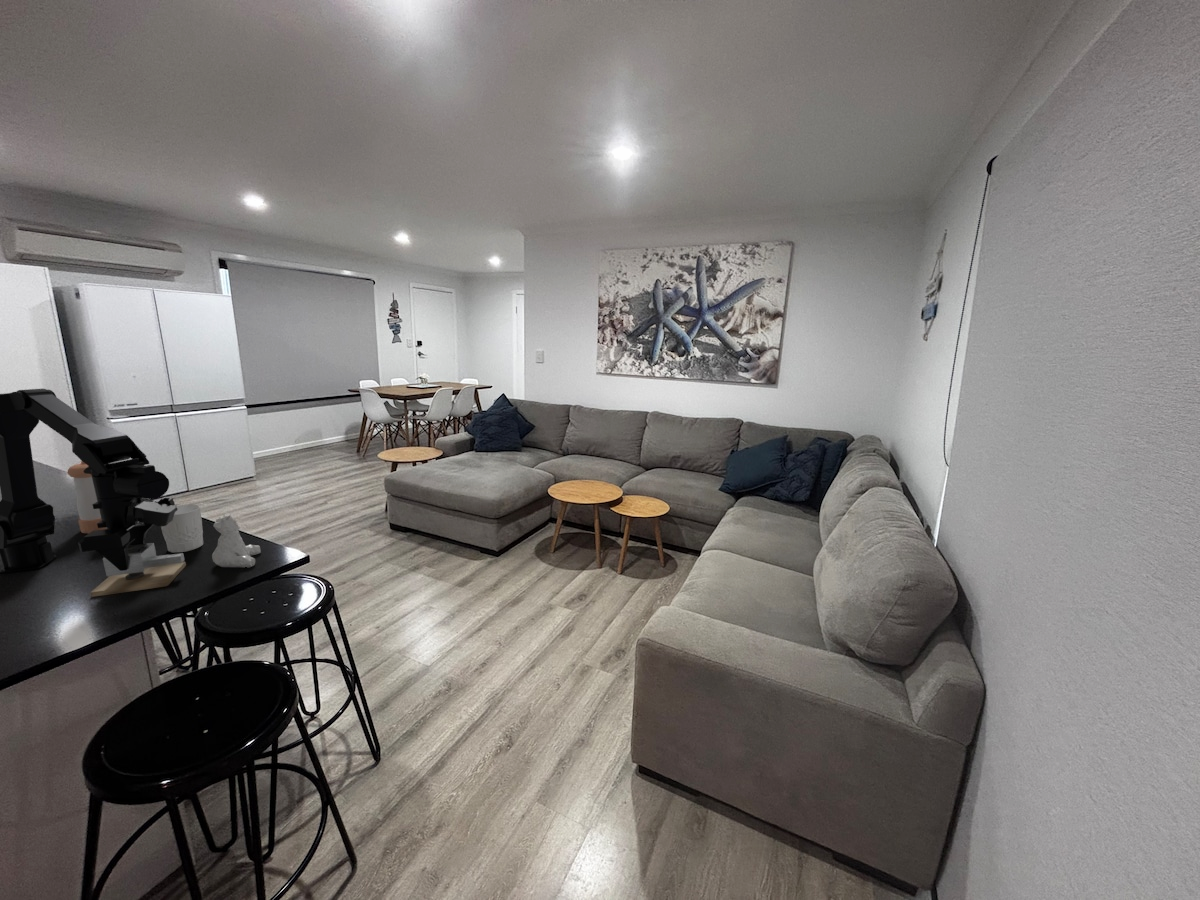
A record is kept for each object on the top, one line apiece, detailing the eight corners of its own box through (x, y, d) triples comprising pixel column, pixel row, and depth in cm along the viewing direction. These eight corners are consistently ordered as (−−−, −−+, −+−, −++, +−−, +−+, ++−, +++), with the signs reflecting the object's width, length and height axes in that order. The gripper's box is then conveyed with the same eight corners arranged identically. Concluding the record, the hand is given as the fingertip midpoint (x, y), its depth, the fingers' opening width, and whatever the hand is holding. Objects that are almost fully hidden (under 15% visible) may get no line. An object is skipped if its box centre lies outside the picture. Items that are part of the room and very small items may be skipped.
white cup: (182, 555, 112) (174, 516, 110) (156, 552, 114) (148, 513, 111) (214, 542, 120) (208, 505, 117) (189, 539, 121) (183, 503, 119)
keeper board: (91, 596, 94) (84, 569, 92) (117, 574, 103) (111, 549, 101) (167, 586, 99) (162, 560, 97) (186, 565, 107) (181, 541, 106)
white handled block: (106, 576, 96) (102, 558, 95) (121, 563, 101) (117, 546, 100) (177, 567, 100) (174, 550, 99) (188, 555, 106) (185, 539, 105)
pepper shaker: (127, 524, 129) (112, 457, 125) (97, 534, 122) (80, 464, 118) (104, 522, 130) (88, 456, 126) (72, 532, 123) (55, 463, 119)
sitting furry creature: (254, 567, 107) (246, 519, 105) (207, 574, 104) (198, 524, 101) (262, 551, 116) (255, 505, 113) (219, 557, 112) (210, 510, 109)
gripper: (146, 504, 91) (160, 577, 94) (184, 478, 107) (195, 541, 111) (68, 511, 86) (86, 587, 90) (120, 483, 103) (134, 548, 106)
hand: (131, 563), depth 99 cm, fingers closed on white handled block, 6 cm apart
